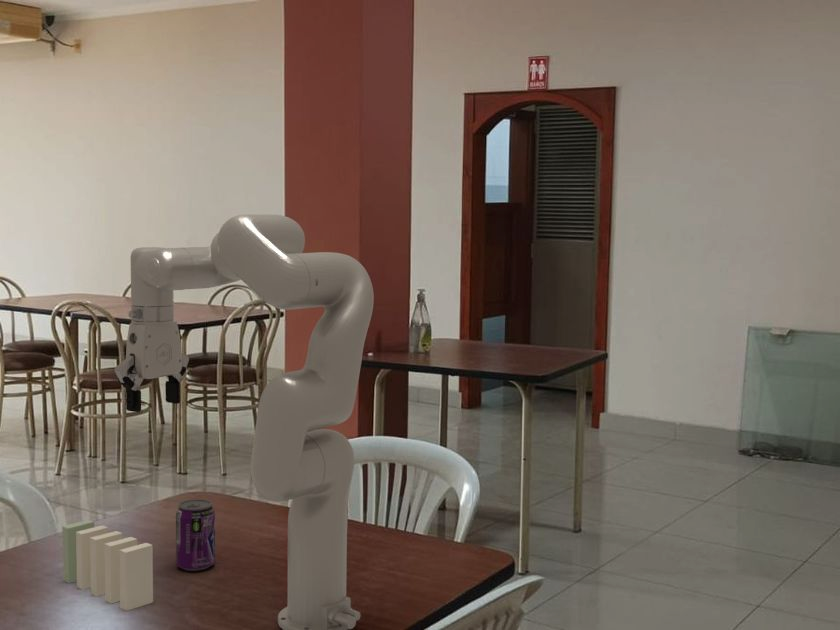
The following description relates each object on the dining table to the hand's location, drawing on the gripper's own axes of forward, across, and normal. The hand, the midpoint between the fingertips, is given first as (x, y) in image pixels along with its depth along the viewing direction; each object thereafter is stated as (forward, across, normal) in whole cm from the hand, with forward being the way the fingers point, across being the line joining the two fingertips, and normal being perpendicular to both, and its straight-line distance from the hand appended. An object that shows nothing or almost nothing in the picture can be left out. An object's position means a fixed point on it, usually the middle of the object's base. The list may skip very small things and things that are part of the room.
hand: (153, 406), depth 190 cm
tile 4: (+30, -14, +1) cm, 33 cm away
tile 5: (+30, -13, +5) cm, 33 cm away
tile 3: (+30, -15, -4) cm, 34 cm away
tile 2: (+30, -16, -8) cm, 35 cm away
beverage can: (+30, +3, -8) cm, 31 cm away
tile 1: (+30, -16, -12) cm, 36 cm away
